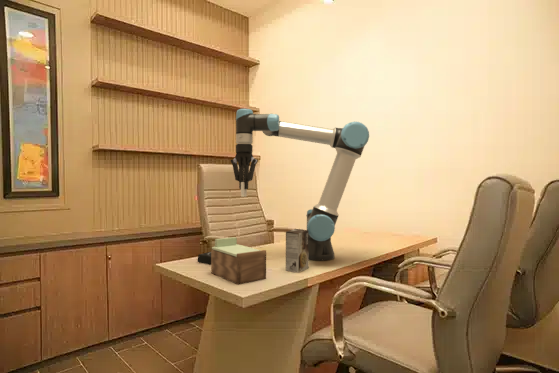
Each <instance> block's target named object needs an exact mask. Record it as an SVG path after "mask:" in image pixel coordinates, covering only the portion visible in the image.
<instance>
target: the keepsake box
mask: <svg viewBox="0 0 559 373" xmlns="http://www.w3.org/2000/svg"><path fill="white" fill-rule="evenodd" d="M210 250H211V251H210V252H211V265H210V267H211V268H210V272H211V274H213V275H216V276H218V277H220V278H223V279H225V280H226V281H227V280H228V281H230V282H232V283H234V284H236V285H242V284H247V283H251V282H257V281H262V280H263V281H264V280H266V279H267V250H266V249H262V250H261V249H259V250H260V251H253V252H245V253H238V254H237V257H235V256H232V255H229V254H226V253H223V252H220V251H216V250H213V249H210Z"/></svg>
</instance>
